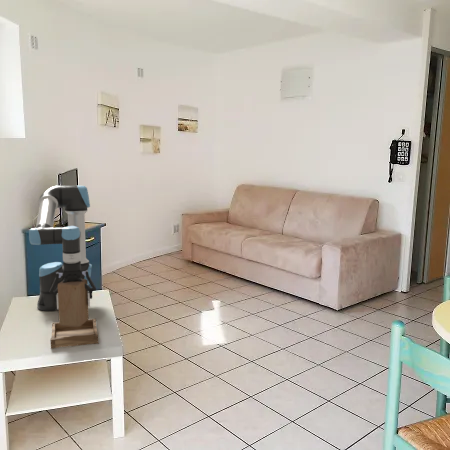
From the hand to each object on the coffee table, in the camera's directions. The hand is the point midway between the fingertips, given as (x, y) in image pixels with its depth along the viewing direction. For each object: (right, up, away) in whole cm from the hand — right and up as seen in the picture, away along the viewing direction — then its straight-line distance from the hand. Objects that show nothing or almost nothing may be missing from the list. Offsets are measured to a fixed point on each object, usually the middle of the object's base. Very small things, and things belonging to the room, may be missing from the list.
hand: (73, 306), depth 216 cm
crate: (0, -14, +3) cm, 15 cm away
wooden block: (0, -8, +1) cm, 8 cm away
